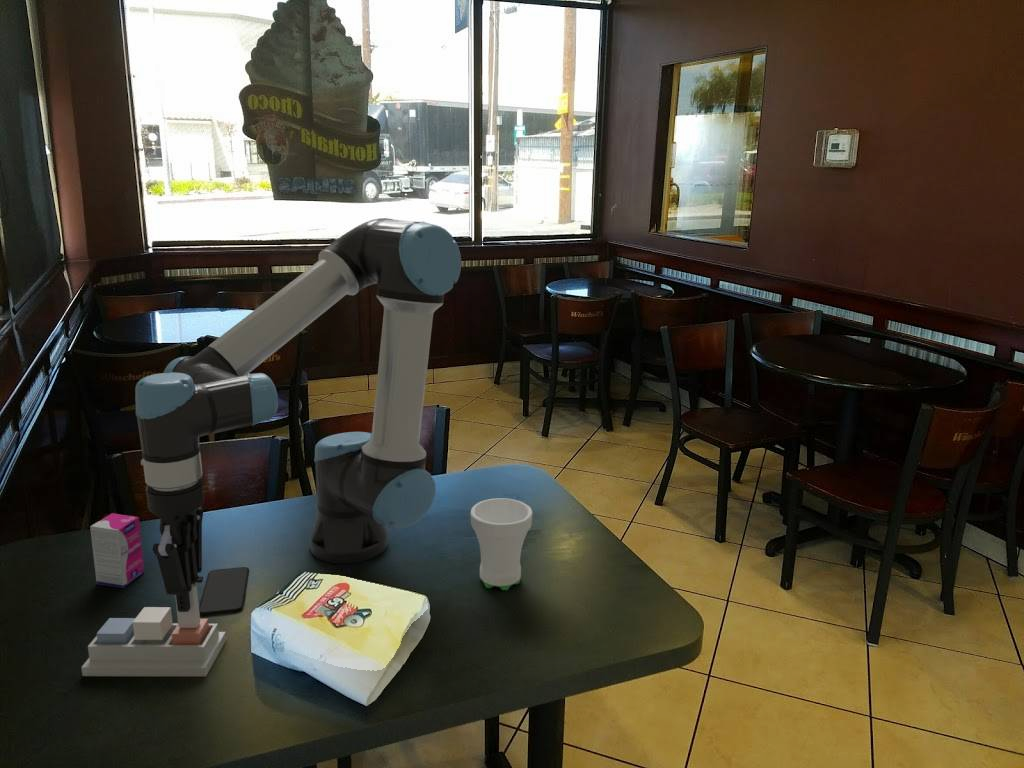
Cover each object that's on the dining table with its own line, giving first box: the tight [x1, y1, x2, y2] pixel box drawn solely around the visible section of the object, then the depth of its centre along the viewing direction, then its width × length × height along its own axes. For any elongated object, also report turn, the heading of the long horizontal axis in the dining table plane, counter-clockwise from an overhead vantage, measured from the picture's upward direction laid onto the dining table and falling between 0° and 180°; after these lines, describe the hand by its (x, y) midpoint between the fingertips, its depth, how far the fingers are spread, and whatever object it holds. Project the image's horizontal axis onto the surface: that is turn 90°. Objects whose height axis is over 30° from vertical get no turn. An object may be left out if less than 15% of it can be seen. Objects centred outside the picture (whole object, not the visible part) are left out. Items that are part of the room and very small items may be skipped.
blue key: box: [96, 617, 136, 645], centre depth 115 cm, size 4×4×3 cm
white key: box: [133, 606, 173, 640], centre depth 115 cm, size 4×4×3 cm
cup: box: [470, 497, 533, 591], centre depth 139 cm, size 11×11×14 cm
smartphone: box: [199, 566, 250, 617], centre depth 135 cm, size 7×1×15 cm
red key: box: [172, 618, 210, 645], centre depth 116 cm, size 4×4×3 cm
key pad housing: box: [80, 622, 227, 678], centre depth 116 cm, size 18×9×4 cm, turn 92°
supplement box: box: [89, 512, 145, 589], centre depth 137 cm, size 6×6×12 cm
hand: (189, 624), depth 115 cm, fingers closed
